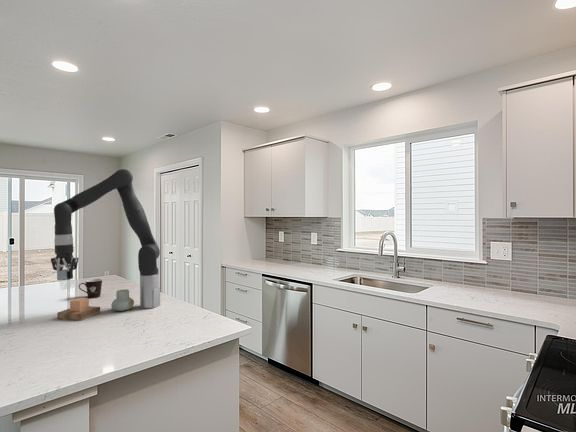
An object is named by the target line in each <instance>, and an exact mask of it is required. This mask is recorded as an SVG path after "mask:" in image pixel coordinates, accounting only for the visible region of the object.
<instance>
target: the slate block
mask: <svg viewBox="0 0 576 432" xmlns="http://www.w3.org/2000/svg"><path fill="white" fill-rule="evenodd" d="M67 272H68V271H67V268H66V269H64V268H63V270H60V271H57V270H56V278H57V279H56V280H57V281H69V280H70V279H67ZM72 279H74V276H73V277H72ZM72 279H71V280H72Z"/></svg>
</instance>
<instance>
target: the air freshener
mask: <svg viewBox="0 0 576 432" xmlns="http://www.w3.org/2000/svg"><path fill="white" fill-rule="evenodd" d="M115 297H116V299H114V300H113V301H112V303H111V305H110V306H111V309H112V310H114V311H116V312H126V311H129V310H130V309H132V308H133V307H134V305H135V304H134V303H135V300H134V299H133V298H131V297H130V290H129V289H127V288H125V289H118V290H116V294H115Z"/></svg>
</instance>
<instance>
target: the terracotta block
mask: <svg viewBox="0 0 576 432" xmlns="http://www.w3.org/2000/svg"><path fill="white" fill-rule="evenodd" d="M89 299H90V298H88V297H87V298H86V297H76V298H75V299H72V300H71V299H70V300H69V309H70V311H77V312H80V311H83V310H86V309H88V308H89V306H90V303H89Z"/></svg>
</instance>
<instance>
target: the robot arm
mask: <svg viewBox="0 0 576 432" xmlns="http://www.w3.org/2000/svg"><path fill="white" fill-rule="evenodd" d="M133 177H134V176H133V174H132V172H131V171H130V170H128V169H125V168H122V169H118V170H116V171H115V172H114V173H113V174H111V175H110V176H108V177H107V178H106V179H103V180H102V181H101V182H99V183H97V184H95V185H93V186H91V187H89V188H86V189H85V190H82V191H81V192H79V193H77V194H75V195H73V196H72V197H71V198H68V199H67V200H64V201H62V202H59V203H56V204H55V206H54V208H53V216H54V241H53V242H54V254H55V255H56V256H55V257H51V258H50V262H51V266H52V268H53V271H56V272H57V271H60V270H64V268H66V269H67V271H68V272H67V279H69V280H72V277H73V278H74V270H77V268H78V264H79V263H78V262H79V257H77V256H76V257H74V255H73V253H74V237H73V225H72V217H73V215H72V214H74V213H75V212H77V211H78V210H80V209H83V208H85V207H87V206H89V205H91V204H92V203H94V202H96V201H98V200H100V199H101V198H102V197H104V196H105V195H106V194H108V193H110V192H112V191H113V190H116V191H117V193H118V195H119V196H120V199H121V202H122V207H123V210H124V213H125V216H126V218H127V222H128V224H129V226H130V228H131V229H132V231H133V232H134V234H136V236H137V238H138V240H139V242H140V245H141V247H140V248H139V249H138V253H137V254H138V255H137V258H138V259H137V260H138V262H137V263H138V271H139V307H140V309H155V308H156V307H159V306H160V305H161V287H160V286H159V285H160V284H159V268H158V266H157V265H158V264H157V259H158V258H159V257H160V254H161V251H160V248H159V246H158V244H157V241H156V239H155V238H154V235H153V233H152V229H151V227H150V224H149V221H148V218H147V214H146V212H145V210H144V208H143V205H142V204H141V202H140V200H139V199H138V197H137V195H136V194H135V190H134V186H133V179H134V178H133Z"/></svg>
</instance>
